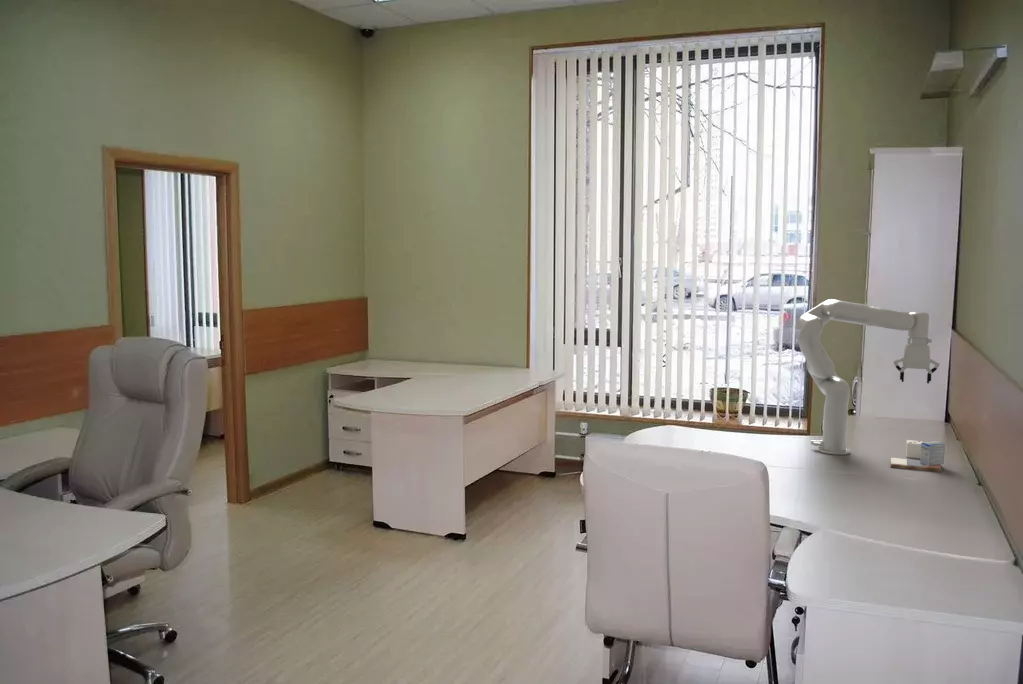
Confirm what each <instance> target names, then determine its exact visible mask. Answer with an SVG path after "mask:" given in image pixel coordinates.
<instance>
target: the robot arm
mask: <svg viewBox="0 0 1023 684" xmlns="http://www.w3.org/2000/svg"><path fill="white" fill-rule="evenodd" d="M929 320H930V315H929V313H928V312H926V311H903V310H893V309H892V310H890V309H886V308H885V309H884V308H880V307H876V306H875V305H870V304H864V303H857V302H851V301H846V300H845V301H844V300H838V299H835V298H834V299H833V298H830V299H826V300H825V301H822V302H821V303H819V304H818V305H817V306H815V307H813V308H811V309H810V310H808V311H807V312H805V313H803V314H802V315H801V316H800V317H799V318H798V320H797V326H798V329H799V331H800V332H799V335H798V336H799V337H798V347H799V349H800V351H801V353H802V355H803V357H804V358H805V361H806V369H807V371H808V373H809V375H810V377H811V378H812V380H813V381H814V383H815V385H816V386H817V388H818V389H819V390H820V392H821V393H822V395H824V396H825V398H824V399H825V400H824V404H823V418H822V419H823V420H822V421H823V422H822V423H823V424H822V438H821V439H820V440H815V439H811V440H810V441H811V442H810V444H811V445H813V446H814V447H815V446H818V448H817V449H818V452H820V453H823V454H826V455H836V456H843V455H848V454H850V452H851V449H850V448H847V437H848V436H847V435H848V415H849V414H848V413H849V403H850V397H851V388H850V385H849V383H848V382H847V381H846V380H845V379H843V378H841V377H839V375H838V374H837V372H836V367H835V363H834V362H833V360H832V358H830V356H829V354H828V352H827V351H826V350H825V348H824V346H823V344H822V343H821V335H822V332H823V331H824V327H825V325H826V324H827V323H829V322H830V321H835V322H836V321H837V322H843V323H850V324H856V325H862V326H868V327H876V328H877V327H878V328H883V329H890V330H897V331H903V332H904V331H905V332H906V331H907V342H906V343H905V345H904V349H903V355H902V356H903V357H900V358H898V359H896V360H893V364H894V366H895V368H896V370H898V371H899V373H900V374H899V380H901V383H903V382H904V380H905V370H906V369H909V370H910V369H914V370H926V372H927V375H926V383H927V385H928V384H930V382H932V374H933V373H934V372H936V371H937V369H938V368H939V367H940V363H939V362H937V361H935V360H933V359H932V358H931V348H930V345H929V343H930V344H931V343H932V340H933V339H930V338H928V337H929V323H930V321H929ZM901 362H902V367H900V365H899V363H901ZM930 364H933V365H934V366H933V368H930V367H931V365H930Z"/></svg>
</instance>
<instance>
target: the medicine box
mask: <svg viewBox="0 0 1023 684" xmlns="http://www.w3.org/2000/svg"><path fill="white" fill-rule="evenodd" d="M945 449H946V443H945V442H941V441H939V440H932V441H924V442H922V443H921V456H920V458H919V460H920V463H921V464H923V465H926V466H932V465H944V461H945Z"/></svg>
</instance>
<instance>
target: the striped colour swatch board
mask: <svg viewBox="0 0 1023 684" xmlns="http://www.w3.org/2000/svg"><path fill="white" fill-rule="evenodd" d="M941 466H942V464H940V465H932V466H926V465H923V464H921V463H920V459H914V458H911V459H910V458H899V457H890V468H893V469H901V468H903V469H902V470H912V469H913V471H922V470H924V471H923V472H934V473H942V467H941Z"/></svg>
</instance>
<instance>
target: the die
mask: <svg viewBox="0 0 1023 684" xmlns="http://www.w3.org/2000/svg"><path fill="white" fill-rule="evenodd" d="M922 442H923V441H922V440H911V439H906V447H905V448H906V450H905V455H906V456H905V458H908V459H910V458H911V459H920V456H921V443H922Z"/></svg>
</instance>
